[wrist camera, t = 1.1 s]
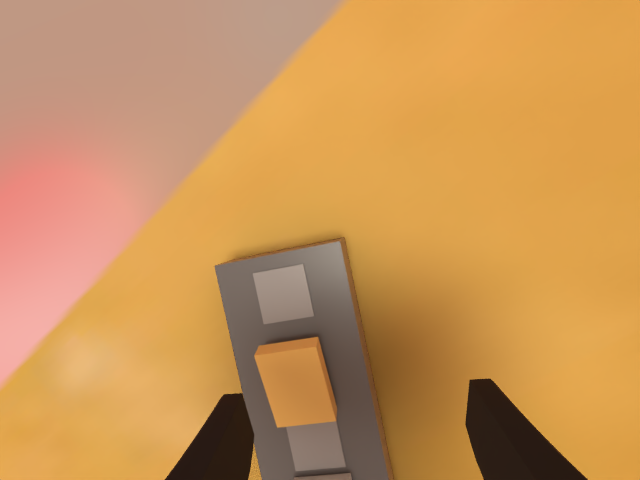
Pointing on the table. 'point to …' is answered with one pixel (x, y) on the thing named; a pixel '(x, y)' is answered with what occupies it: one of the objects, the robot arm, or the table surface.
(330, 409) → the block
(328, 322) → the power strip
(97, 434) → the table surface
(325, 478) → the beige rectangular slab
